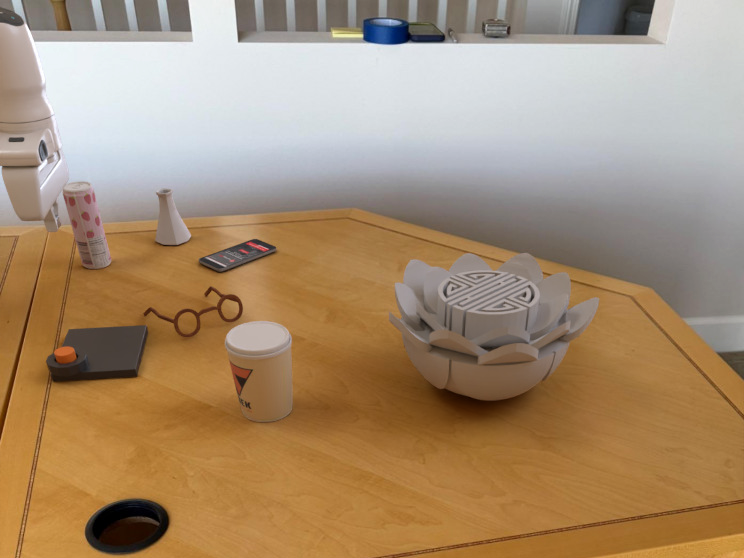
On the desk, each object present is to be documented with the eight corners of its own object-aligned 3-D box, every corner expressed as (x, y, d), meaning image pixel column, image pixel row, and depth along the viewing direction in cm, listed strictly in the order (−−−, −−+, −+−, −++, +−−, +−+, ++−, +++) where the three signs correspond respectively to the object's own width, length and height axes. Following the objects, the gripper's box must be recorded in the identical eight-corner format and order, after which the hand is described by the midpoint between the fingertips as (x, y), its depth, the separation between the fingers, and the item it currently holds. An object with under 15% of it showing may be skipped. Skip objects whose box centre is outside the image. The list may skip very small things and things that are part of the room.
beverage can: (111, 256, 157) (91, 179, 147) (112, 267, 153) (93, 189, 143) (82, 260, 156) (60, 182, 146) (82, 271, 152) (60, 192, 142)
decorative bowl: (469, 316, 139) (475, 232, 128) (609, 378, 123) (628, 288, 113) (343, 377, 123) (338, 286, 113) (484, 457, 107) (494, 360, 97)
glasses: (179, 343, 131) (174, 315, 127) (143, 316, 138) (137, 289, 135) (245, 319, 137) (242, 293, 134) (207, 295, 144) (203, 269, 141)
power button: (55, 365, 120) (52, 356, 119) (58, 355, 122) (56, 346, 121) (74, 364, 120) (72, 355, 119) (78, 354, 123) (75, 345, 121)
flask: (149, 243, 163) (138, 194, 156) (169, 231, 168) (159, 183, 161) (178, 248, 161) (168, 198, 154) (197, 236, 166) (189, 187, 159)
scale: (48, 385, 121) (42, 368, 119) (68, 336, 132) (63, 320, 130) (136, 380, 122) (132, 363, 120) (148, 332, 134) (144, 316, 132)
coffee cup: (229, 399, 118) (216, 326, 110) (287, 386, 121) (280, 315, 112) (244, 431, 111) (233, 357, 103) (306, 417, 114) (299, 343, 106)
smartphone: (277, 247, 159) (219, 269, 151) (278, 250, 160) (220, 273, 151) (255, 238, 163) (196, 259, 154) (255, 241, 163) (197, 262, 155)
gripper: (24, 117, 124) (49, 206, 133) (-13, 157, 109) (18, 254, 118) (65, 117, 124) (87, 205, 133) (34, 156, 109) (61, 253, 118)
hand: (54, 228), depth 126 cm, fingers closed
